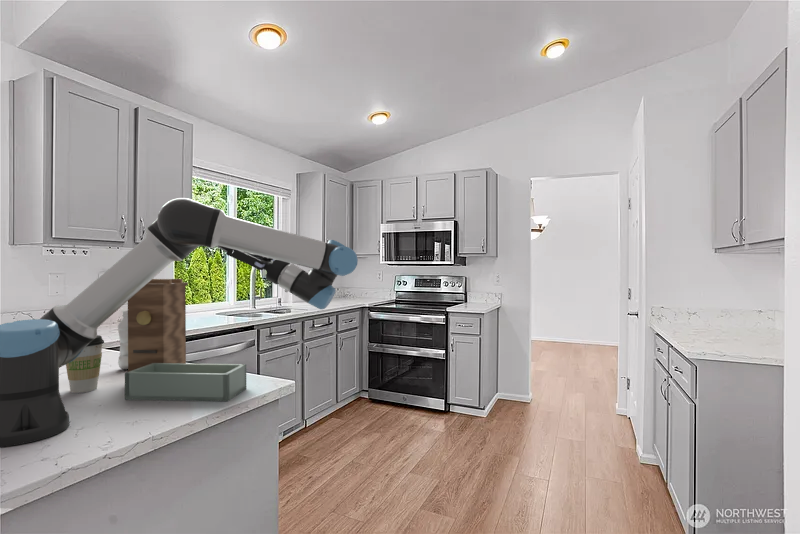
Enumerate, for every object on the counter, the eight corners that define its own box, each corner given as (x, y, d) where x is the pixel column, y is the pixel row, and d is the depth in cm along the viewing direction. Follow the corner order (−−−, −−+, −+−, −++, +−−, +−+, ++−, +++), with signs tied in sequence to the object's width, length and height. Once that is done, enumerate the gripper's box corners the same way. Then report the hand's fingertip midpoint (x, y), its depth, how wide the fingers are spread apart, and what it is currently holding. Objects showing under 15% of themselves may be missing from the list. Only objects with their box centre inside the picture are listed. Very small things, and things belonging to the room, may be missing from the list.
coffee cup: (82, 395, 121) (82, 340, 121) (53, 393, 123) (52, 339, 123) (112, 386, 131) (112, 335, 131) (84, 384, 133) (84, 334, 133)
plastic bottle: (133, 371, 149) (133, 311, 149) (113, 371, 149) (113, 311, 149) (144, 366, 155) (144, 309, 155) (125, 366, 156) (125, 309, 155)
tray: (227, 401, 116) (227, 374, 116) (124, 399, 118) (124, 373, 118) (246, 388, 128) (246, 364, 128) (153, 386, 130) (152, 363, 130)
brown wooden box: (162, 386, 130) (162, 280, 130) (123, 385, 131) (123, 280, 131) (188, 374, 144) (187, 278, 144) (152, 374, 145) (152, 278, 145)
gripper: (261, 287, 117) (193, 248, 118) (291, 283, 142) (234, 250, 143) (275, 263, 116) (206, 223, 118) (302, 262, 141) (245, 230, 142)
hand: (222, 238), depth 130 cm, fingers open, 13 cm apart
